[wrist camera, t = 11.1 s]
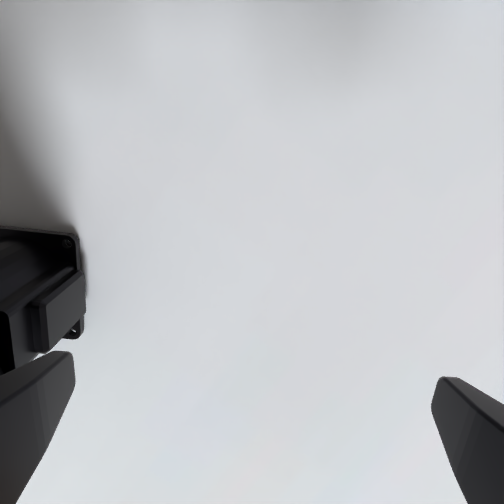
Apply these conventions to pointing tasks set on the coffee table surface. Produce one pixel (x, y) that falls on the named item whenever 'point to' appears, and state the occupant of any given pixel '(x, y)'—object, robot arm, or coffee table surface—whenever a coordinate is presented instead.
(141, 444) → the coffee table surface
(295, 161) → the coffee table surface
